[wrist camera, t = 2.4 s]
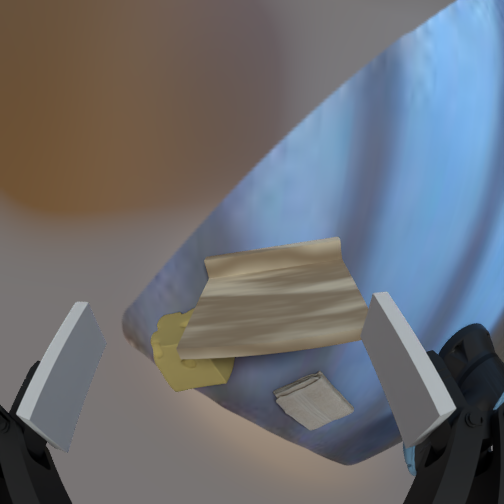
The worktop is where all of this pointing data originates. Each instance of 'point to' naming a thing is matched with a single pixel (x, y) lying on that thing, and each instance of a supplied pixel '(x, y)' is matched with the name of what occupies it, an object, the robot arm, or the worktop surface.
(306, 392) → the washcloth
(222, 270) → the wall board
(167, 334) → the cheese
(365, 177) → the worktop surface
